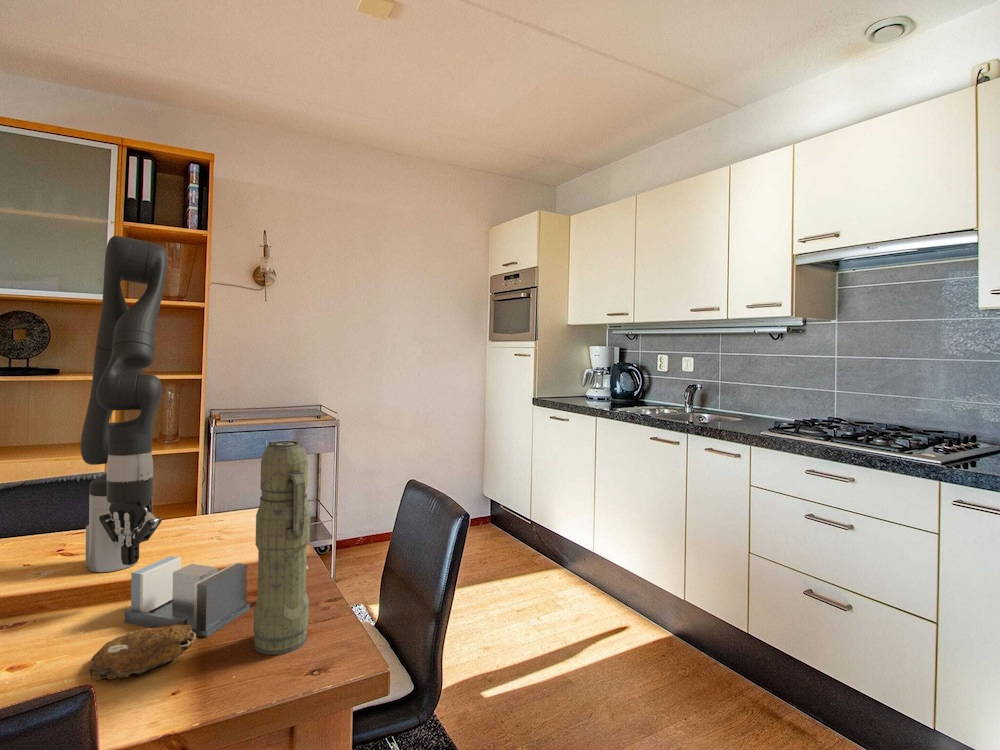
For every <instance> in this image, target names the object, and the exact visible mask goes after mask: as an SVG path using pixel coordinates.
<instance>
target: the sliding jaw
mask: <svg viewBox="0 0 1000 750" xmlns="http://www.w3.org/2000/svg"><path fill="white" fill-rule="evenodd" d="M181 568H182V557H178V556H172V555H170V556H167V557H165V558H162V559H161V560H158V561H155V562H154V563H151V564H148V565H146V566H144V567H141V568H140V569H137V570H135V571H132V572H131V578H130V581H131V582H130V583H131V584H130V585H131V586H130V587H131V588H130V589H131V591H130V609H131V610H137V611H143V612H149V611H151V610H153V609H155V608H157V607H159V606H161V605H163V604H164V603H166V602H168V601H170V600H172V599H173V572H175V571H177V570H179V569H181Z"/></svg>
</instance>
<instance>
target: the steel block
mask: <svg viewBox="0 0 1000 750" xmlns="http://www.w3.org/2000/svg"><path fill="white" fill-rule="evenodd" d="M218 569H219V567H217V566H210V565H202V564H196V563H191V564H188V565H185V566H183V567H181V569H179V570H177V571H175V572H173V601H172V615H178V616H184V617H190V618H194V584H195V583H197V582H199V581H201V580H203V579H205V578H207V577H209V576H211V575H213V574H215V573H217V572H218V571H219V570H218Z"/></svg>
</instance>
